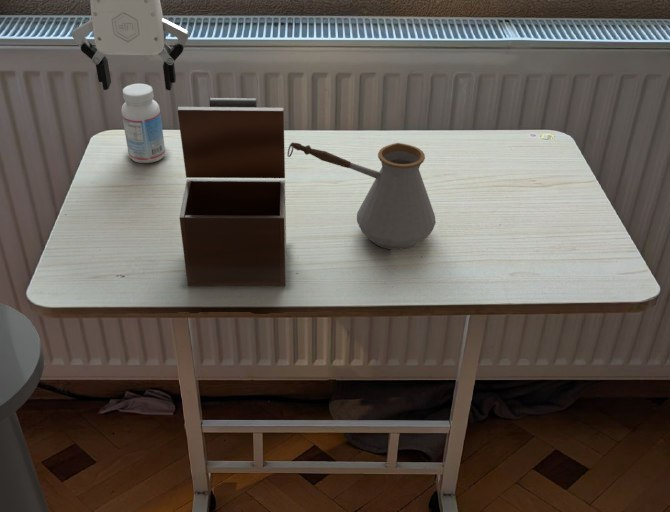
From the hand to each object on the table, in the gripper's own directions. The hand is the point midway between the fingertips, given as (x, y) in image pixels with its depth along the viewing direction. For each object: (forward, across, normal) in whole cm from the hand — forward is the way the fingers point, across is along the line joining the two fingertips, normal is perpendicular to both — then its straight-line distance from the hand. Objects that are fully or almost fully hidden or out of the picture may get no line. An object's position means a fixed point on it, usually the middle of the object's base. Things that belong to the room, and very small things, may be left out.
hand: (138, 86), depth 130 cm
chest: (+11, +16, -32) cm, 38 cm away
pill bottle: (+12, 0, 0) cm, 12 cm away
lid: (-5, +17, -28) cm, 33 cm away
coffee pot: (+12, +34, -25) cm, 44 cm away
